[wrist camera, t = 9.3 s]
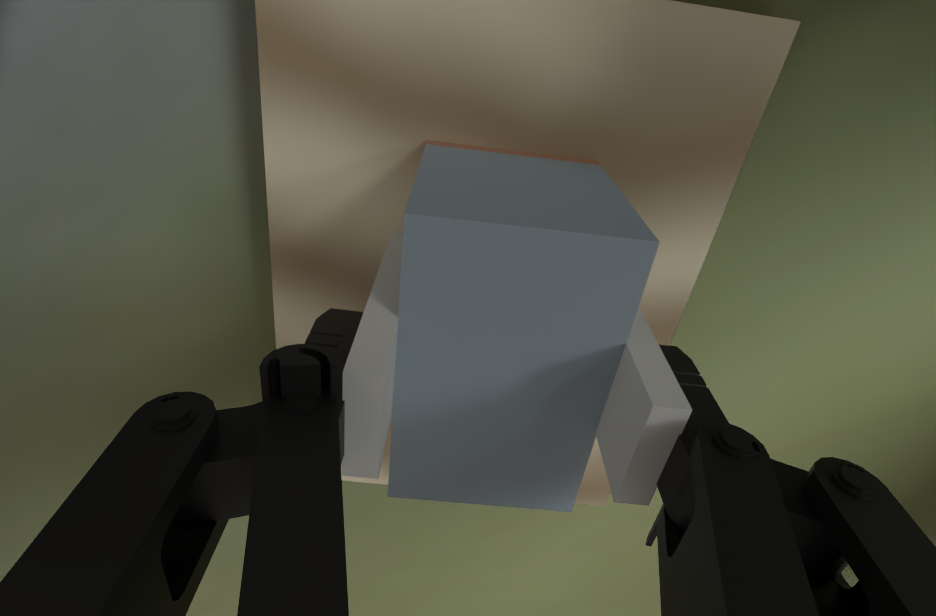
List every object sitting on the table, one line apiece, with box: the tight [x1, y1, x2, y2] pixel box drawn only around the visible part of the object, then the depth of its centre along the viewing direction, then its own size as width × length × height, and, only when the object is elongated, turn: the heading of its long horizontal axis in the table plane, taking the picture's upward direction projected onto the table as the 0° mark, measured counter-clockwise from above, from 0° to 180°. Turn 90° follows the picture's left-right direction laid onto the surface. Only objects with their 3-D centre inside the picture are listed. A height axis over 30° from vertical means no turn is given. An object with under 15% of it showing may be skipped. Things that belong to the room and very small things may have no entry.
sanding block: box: [388, 140, 660, 512], centre depth 15 cm, size 8×5×6 cm, turn 173°
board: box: [255, 0, 801, 506], centre depth 19 cm, size 19×14×2 cm
